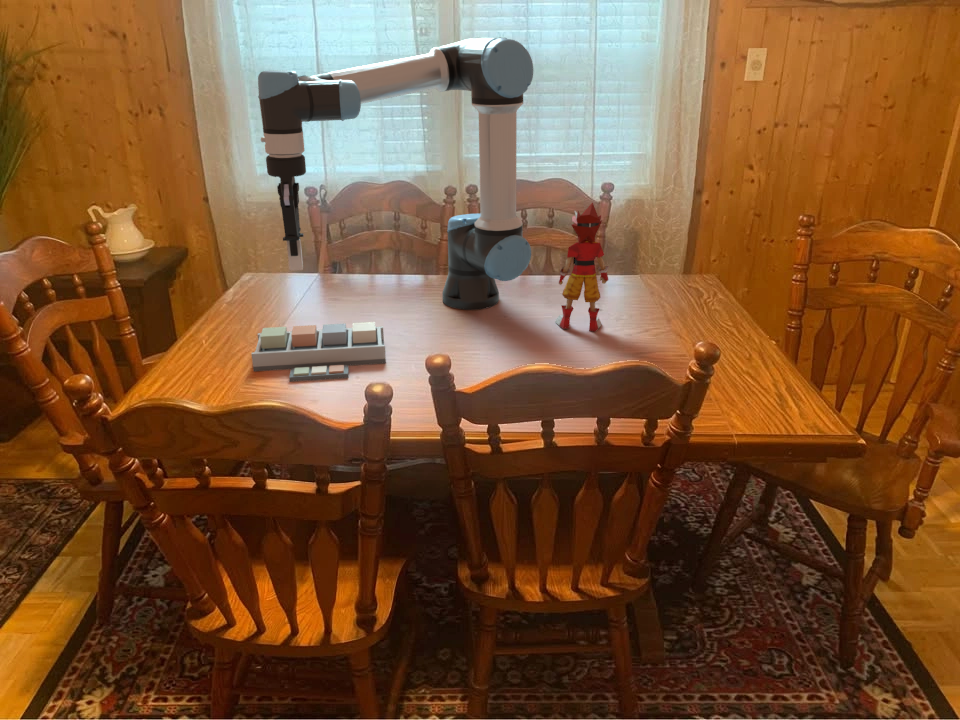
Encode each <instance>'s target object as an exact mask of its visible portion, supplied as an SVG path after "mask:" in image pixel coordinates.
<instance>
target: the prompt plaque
mask: <svg viewBox="0 0 960 720" xmlns="http://www.w3.org/2000/svg"><path fill="white" fill-rule="evenodd" d="M349 370H350V369H349V366H348V365H333V366H317V367H300V368H291V369H290V373H289V377H288V378H289V382H292V383H293V382H307V381H321V380H322V381H323V380H334V379H338V380H339V379H349Z"/></svg>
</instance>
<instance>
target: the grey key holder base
mask: <svg viewBox="0 0 960 720" xmlns="http://www.w3.org/2000/svg"><path fill="white" fill-rule="evenodd" d="M352 328H353V327H346V333H347V342H346V344H333V345H323V338H322V329H317V343H316V345H315V346H298V347H293V345H292V336H291V334H292V331H290V330H289V331H287V338H288V339H287V343H286V347H281V348H264V349H262V346H261V338H260V336H261V333H262V332H259V333H257V340H258V341H257V345H256V348H255V351H254V352H253V351H251V353H250V354H251V355H250V356H251V361H252V369H253V372H267V371H268V372H269V371H283V370H284V371H285V370H286V371H287V370H291V368H300V367H317V366H333V365H348V367H350V366H361V365H362V366H363V365H365V366H366V365H380V364H386V363H387V362H386V344H385V341H384V339H385V338H384V336H385V335H384V326H383V325H382V326H375V329H376V342H367V343H353V332H352Z"/></svg>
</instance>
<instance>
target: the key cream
mask: <svg viewBox="0 0 960 720" xmlns="http://www.w3.org/2000/svg"><path fill="white" fill-rule="evenodd" d="M375 327H376V321H368V322H352V327H351V328H352V332H353V343H367V342H376V329H375Z"/></svg>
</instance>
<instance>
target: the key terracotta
mask: <svg viewBox="0 0 960 720" xmlns="http://www.w3.org/2000/svg"><path fill="white" fill-rule="evenodd" d="M317 330H318V328H317V324H315V325H314V324H312V325H310V324H309V325H295V326H294V325H293V326H292V334H291V336H292V345H293V347H298V346H315V345H316V343H317Z"/></svg>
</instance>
